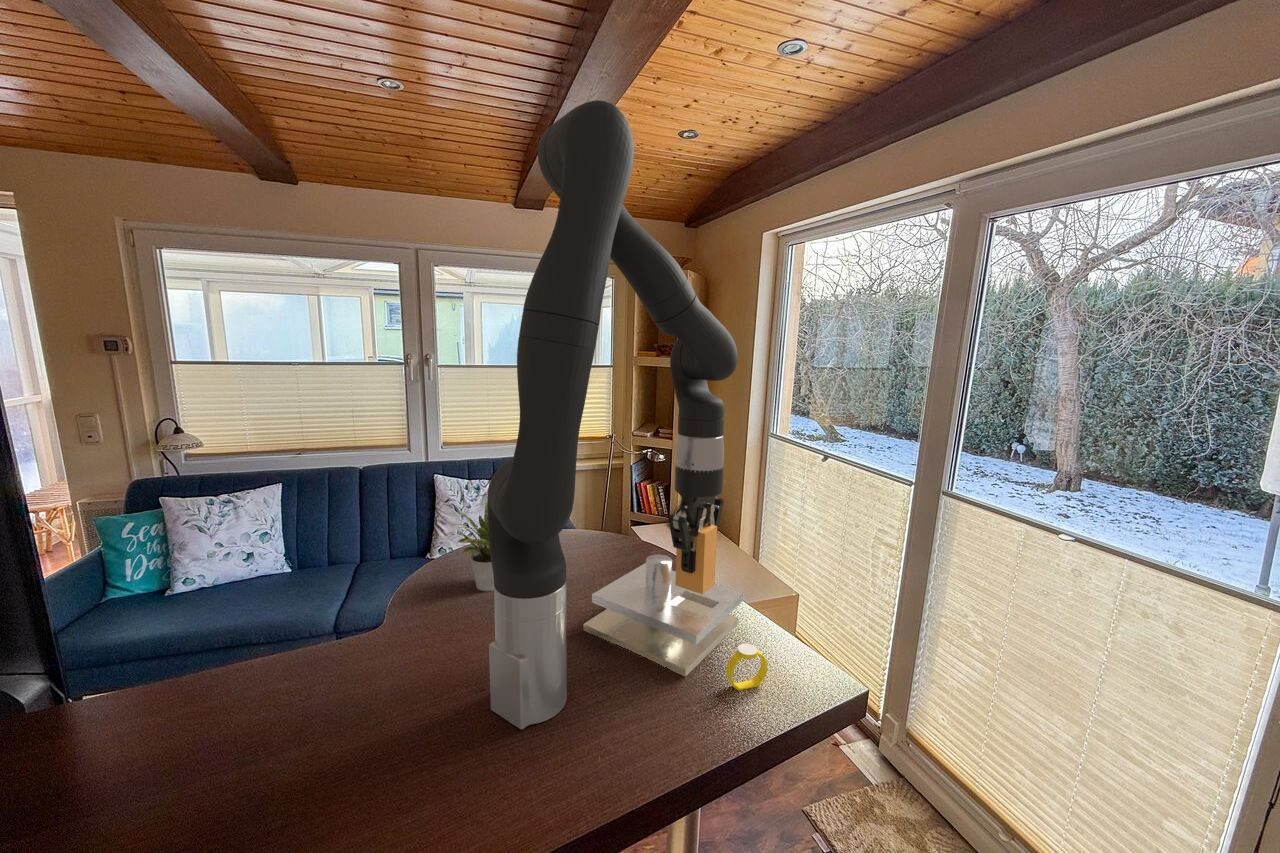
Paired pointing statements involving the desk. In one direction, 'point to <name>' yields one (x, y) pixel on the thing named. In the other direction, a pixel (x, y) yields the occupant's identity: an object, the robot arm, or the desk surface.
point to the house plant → (480, 553)
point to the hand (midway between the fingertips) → (695, 566)
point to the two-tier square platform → (663, 616)
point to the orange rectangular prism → (699, 562)
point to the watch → (748, 653)
